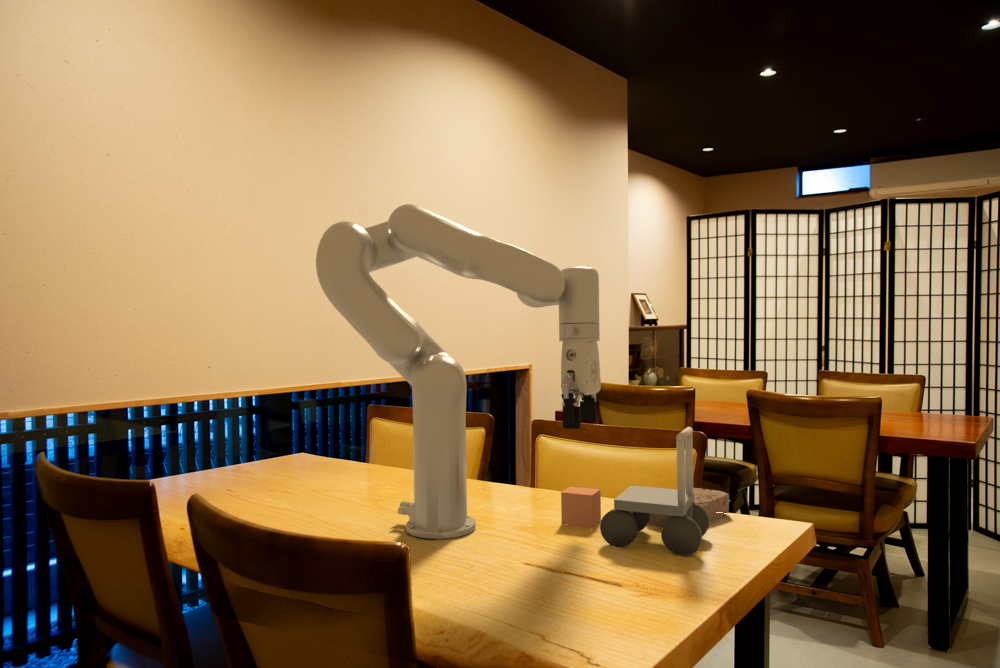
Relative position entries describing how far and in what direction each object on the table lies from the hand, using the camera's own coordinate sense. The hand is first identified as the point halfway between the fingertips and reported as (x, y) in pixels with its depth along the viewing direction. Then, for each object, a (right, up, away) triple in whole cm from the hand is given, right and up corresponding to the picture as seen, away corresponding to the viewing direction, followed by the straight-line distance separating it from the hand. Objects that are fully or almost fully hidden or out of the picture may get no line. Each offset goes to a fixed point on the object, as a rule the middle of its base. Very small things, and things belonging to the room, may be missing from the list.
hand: (580, 425), depth 117 cm
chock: (0, -18, 0) cm, 18 cm away
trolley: (+11, -18, -12) cm, 24 cm away
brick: (+21, -18, +1) cm, 28 cm away
